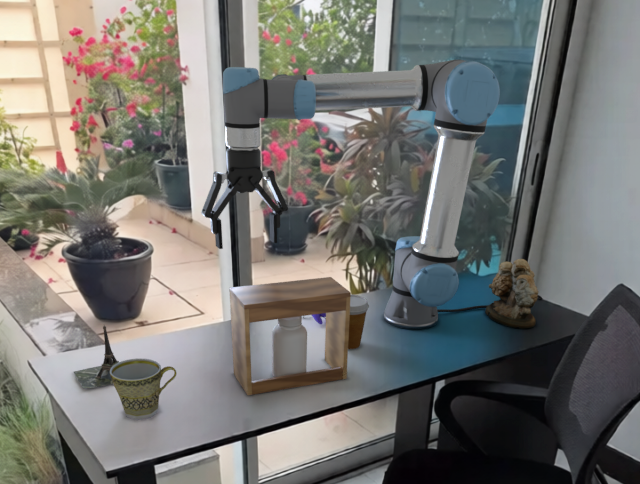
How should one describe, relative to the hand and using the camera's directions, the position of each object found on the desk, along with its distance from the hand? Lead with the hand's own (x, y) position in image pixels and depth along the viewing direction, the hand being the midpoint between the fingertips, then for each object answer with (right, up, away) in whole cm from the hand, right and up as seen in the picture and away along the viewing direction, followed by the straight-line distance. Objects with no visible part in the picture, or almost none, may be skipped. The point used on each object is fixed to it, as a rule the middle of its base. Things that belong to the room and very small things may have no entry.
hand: (246, 244), depth 155 cm
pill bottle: (+10, -31, -2) cm, 33 cm away
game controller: (+17, -13, +28) cm, 36 cm away
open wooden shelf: (+10, -31, -2) cm, 33 cm away
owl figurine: (+71, -11, +35) cm, 80 cm away
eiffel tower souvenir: (-30, -31, -4) cm, 44 cm away
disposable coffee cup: (+24, -22, +15) cm, 36 cm away
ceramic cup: (-18, -40, -18) cm, 47 cm away
